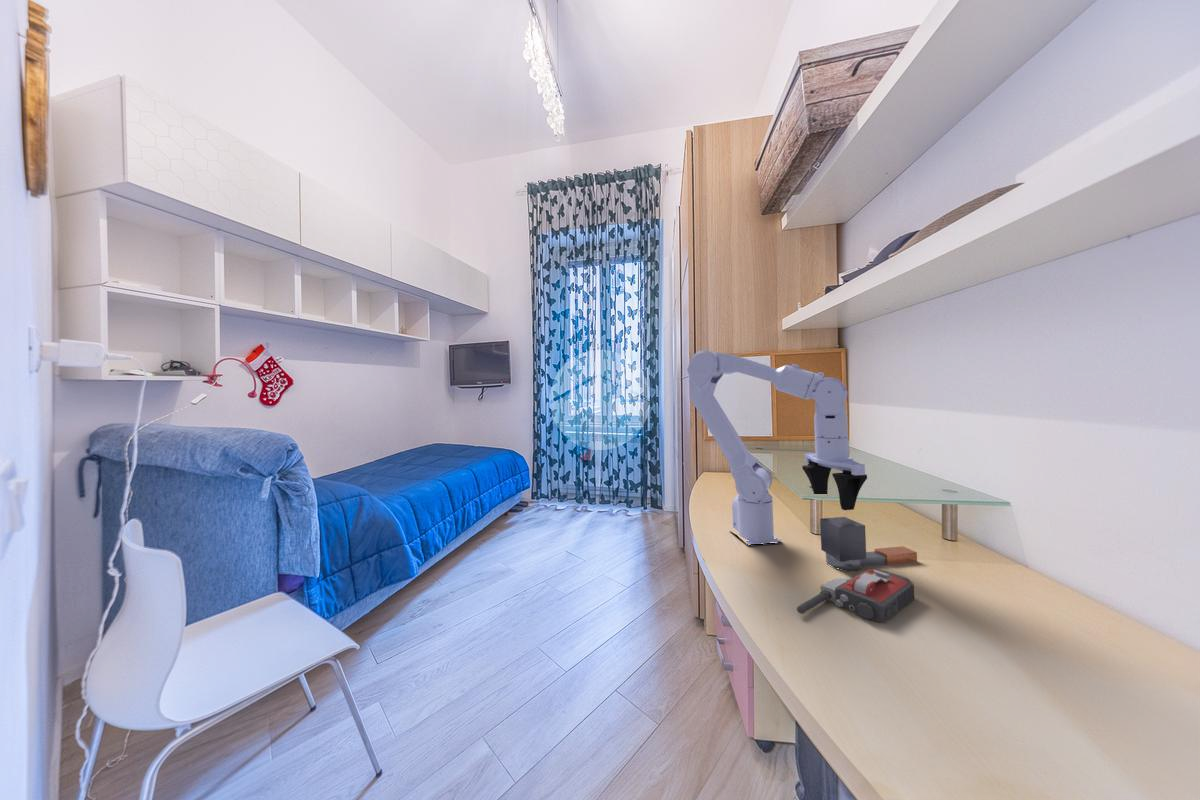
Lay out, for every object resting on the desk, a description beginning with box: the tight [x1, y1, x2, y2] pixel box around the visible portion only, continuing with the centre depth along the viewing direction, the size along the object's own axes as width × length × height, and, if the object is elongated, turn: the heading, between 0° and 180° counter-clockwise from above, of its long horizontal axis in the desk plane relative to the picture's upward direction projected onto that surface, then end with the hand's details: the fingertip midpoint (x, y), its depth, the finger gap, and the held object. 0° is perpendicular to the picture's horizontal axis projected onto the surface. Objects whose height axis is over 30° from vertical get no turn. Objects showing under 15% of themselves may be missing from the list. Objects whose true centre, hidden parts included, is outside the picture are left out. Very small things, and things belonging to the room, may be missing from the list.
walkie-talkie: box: [796, 567, 915, 624], centre depth 57 cm, size 9×4×20 cm
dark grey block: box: [819, 516, 867, 561], centre depth 70 cm, size 5×5×6 cm
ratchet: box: [825, 546, 918, 572], centre depth 70 cm, size 16×6×5 cm, turn 95°
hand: (833, 503), depth 76 cm, fingers open, 7 cm apart
